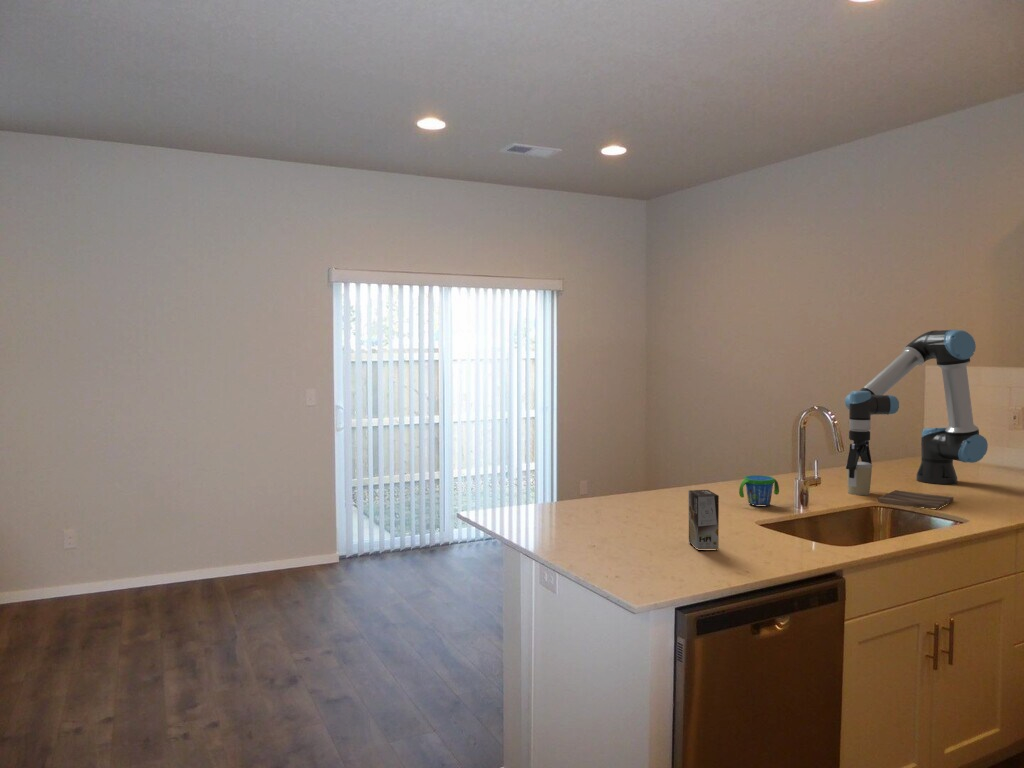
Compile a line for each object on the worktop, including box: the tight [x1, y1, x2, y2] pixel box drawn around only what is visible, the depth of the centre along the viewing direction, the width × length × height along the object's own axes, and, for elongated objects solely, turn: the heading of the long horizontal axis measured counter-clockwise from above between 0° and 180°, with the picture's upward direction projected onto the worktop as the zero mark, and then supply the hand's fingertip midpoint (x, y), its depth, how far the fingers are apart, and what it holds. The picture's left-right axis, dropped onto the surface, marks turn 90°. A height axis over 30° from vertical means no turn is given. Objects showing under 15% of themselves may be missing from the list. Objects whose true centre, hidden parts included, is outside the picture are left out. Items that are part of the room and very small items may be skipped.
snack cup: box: [738, 474, 780, 506], centre depth 268 cm, size 16×10×10 cm
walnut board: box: [877, 489, 955, 510], centre depth 271 cm, size 20×20×2 cm
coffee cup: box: [845, 461, 873, 496], centre depth 287 cm, size 9×9×12 cm
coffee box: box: [688, 489, 720, 550], centre depth 213 cm, size 9×6×16 cm
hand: (858, 483), depth 287 cm, fingers open, 13 cm apart
